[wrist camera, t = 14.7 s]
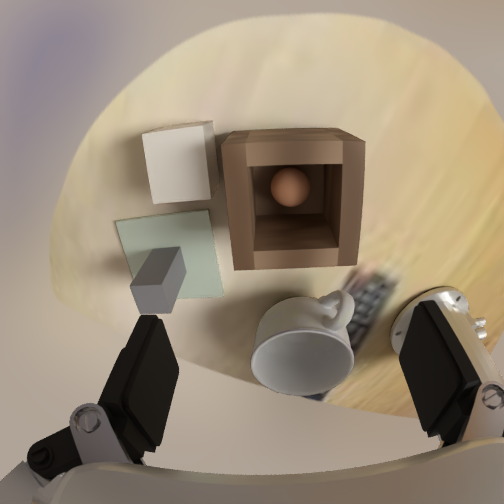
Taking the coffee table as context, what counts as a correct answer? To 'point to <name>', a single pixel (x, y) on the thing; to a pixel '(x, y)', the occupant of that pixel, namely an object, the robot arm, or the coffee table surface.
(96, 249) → the coffee table surface
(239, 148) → the brown wooden box
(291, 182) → the ball
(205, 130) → the matte white cube
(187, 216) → the lid
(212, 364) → the coffee table surface
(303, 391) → the teacup
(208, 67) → the coffee table surface
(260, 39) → the coffee table surface
